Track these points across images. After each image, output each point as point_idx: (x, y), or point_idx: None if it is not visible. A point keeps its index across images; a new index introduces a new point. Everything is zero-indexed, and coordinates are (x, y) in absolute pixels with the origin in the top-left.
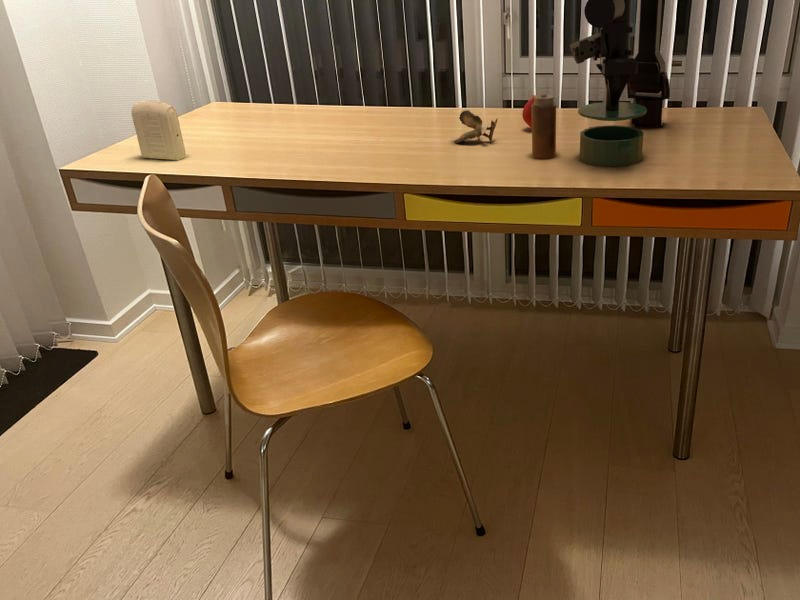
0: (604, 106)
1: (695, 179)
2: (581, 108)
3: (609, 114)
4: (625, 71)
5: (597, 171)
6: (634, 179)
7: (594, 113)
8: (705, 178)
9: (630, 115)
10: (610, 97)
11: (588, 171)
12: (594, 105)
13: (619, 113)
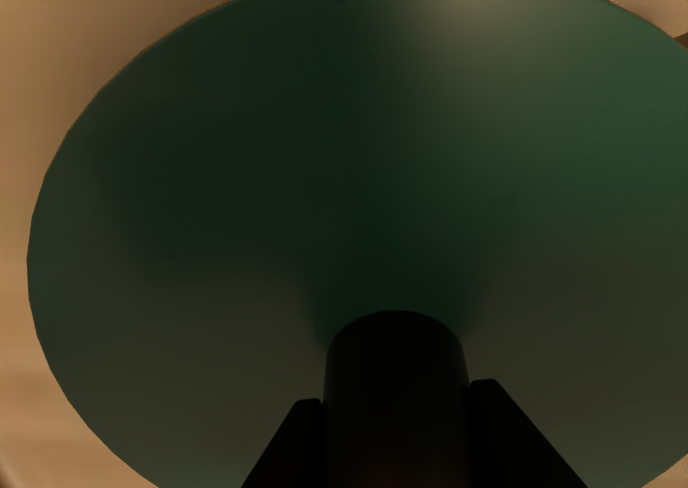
0: (550, 293)
1: (101, 454)
2: (480, 11)
3: (172, 344)
4: None
5: (90, 93)
6: (19, 273)
7: (189, 205)
8: (123, 477)
9: (168, 476)
10: (245, 482)
11: (73, 37)
12: (635, 186)
13: (229, 413)
